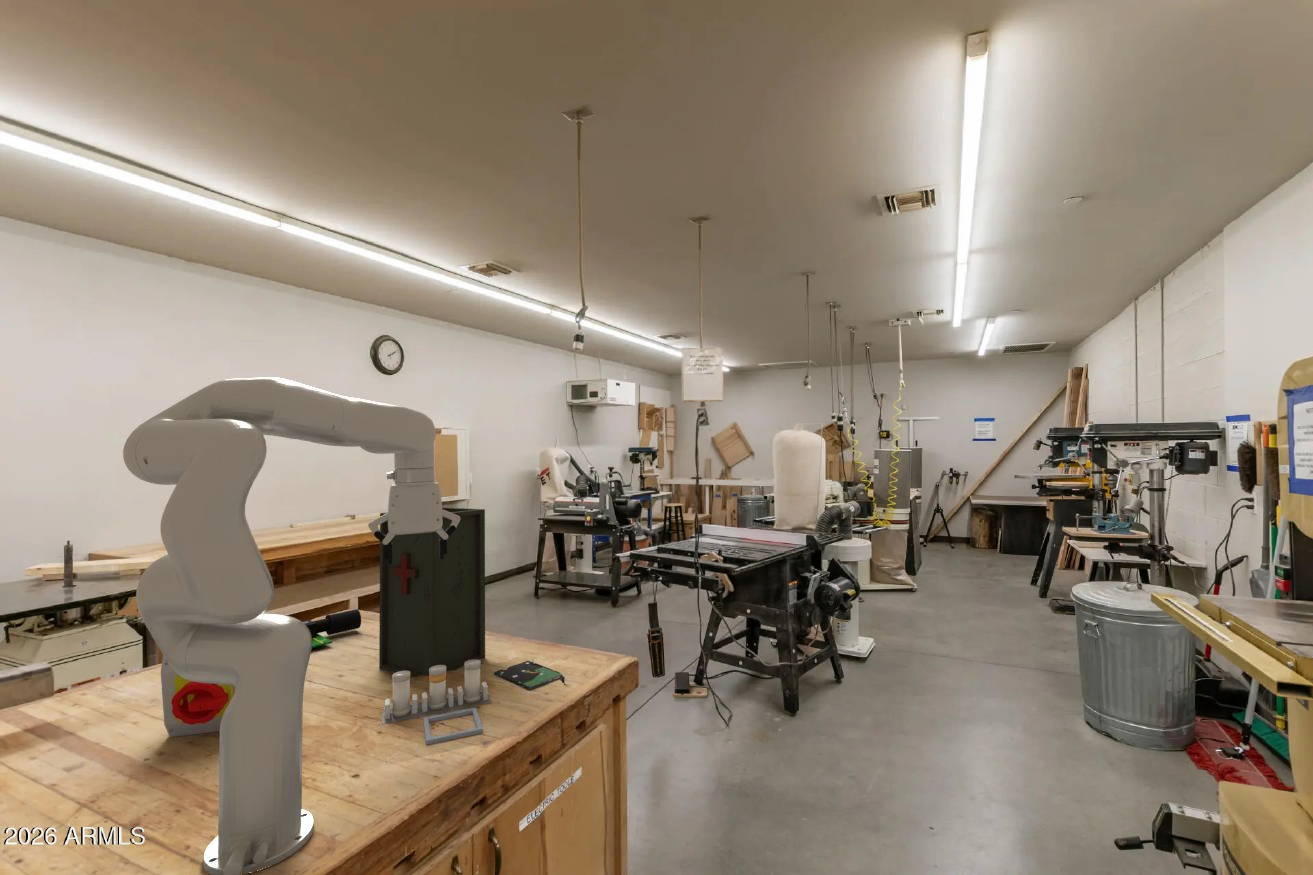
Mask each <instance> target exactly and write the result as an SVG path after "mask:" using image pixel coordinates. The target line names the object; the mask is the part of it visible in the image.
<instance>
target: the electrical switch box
mask: <svg viewBox="0 0 1313 875" xmlns="http://www.w3.org/2000/svg"><path fill="white" fill-rule="evenodd" d="M160 681H161V697H162V698H161V700H162V710H163V712H162V713H163V723H164V727H165V729H166V732H167V734H168V737H170V738H174V737H182V736H190V735H201V734H206V733H207V734H208V732H209V733H216V732H217V733H218V732H220V724H221V720H222V716H223V714H224V712H225V710H226V708H227V706H228V704H229V703H230V701H231V699H232V697H233V696H234V693H235V686H231V685H225V684H211V683H199V682H193V681H189V680H187V679H184V678H183V677H181V676H180V675H178V674H177V673H176V672H175V671H174V670H173V668H172V667H171V666H170V664H169V663H168V661H167V660H166V658H165V656H164V655H163V654H162V659H161V667H160Z"/></svg>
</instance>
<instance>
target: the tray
mask: <svg viewBox="0 0 1313 875" xmlns="http://www.w3.org/2000/svg"><path fill="white" fill-rule="evenodd" d="M468 715H472V716H473V719H474V720H473V721H474V723H475V724H474V725H475V726H476V728H471V729H466V730H462V731H456V732H452V733H447V734H443V735H442V734H441V735H437V736H433V737H431V730H430V724H429V723H432V722H437V721H442V720H448V719H453V718H457V717H463V716H468ZM423 727H424V728H423V730H424V737H425V738H424V740H425V746H428V745H431V744H436V743H442V742H446V741H449V740H450V741H451V740H455V739H460V738H465V737H469V736H474V735H477V734H478V735H479V734H483V733H484V728H483V725H482V722H481V719H480V716H479V713H478V709H477V707H471V708H466V709H461V710H459V711H458V710H455V711H450V712H445V713H440V714H435V715H430V716H425V717H424V718H423Z"/></svg>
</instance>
